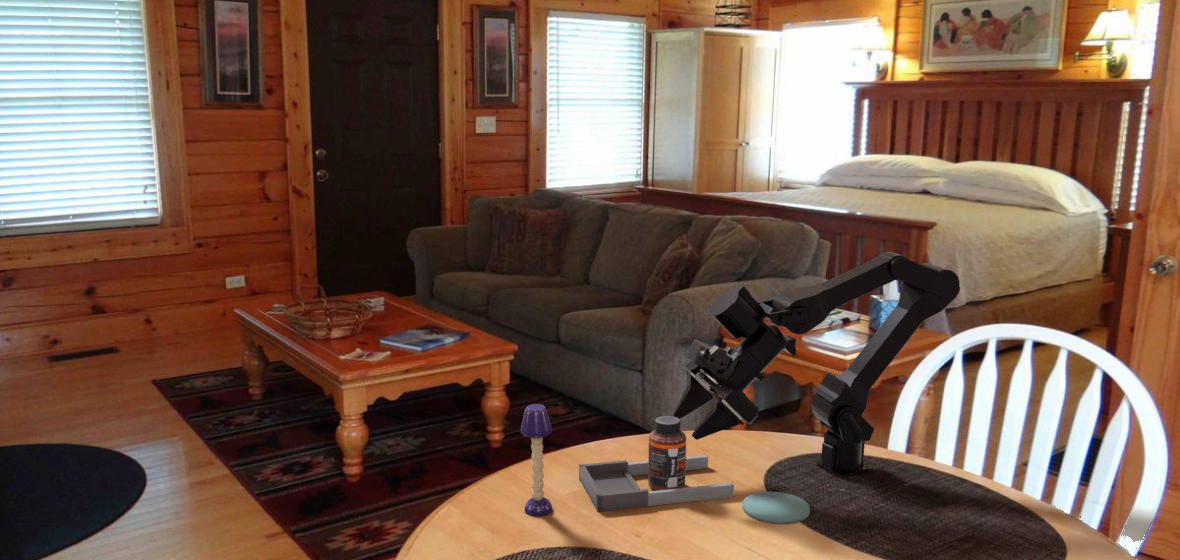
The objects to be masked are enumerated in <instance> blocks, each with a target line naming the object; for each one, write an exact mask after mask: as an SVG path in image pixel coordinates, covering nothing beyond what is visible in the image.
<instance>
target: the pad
mask: <svg viewBox="0 0 1180 560" xmlns="http://www.w3.org/2000/svg"><path fill="white" fill-rule="evenodd" d="M742 509H743V511H744V513H745V514H746V515H747V516H748V517H750V518H752V519H753V520H756V521H759V522H763V523H768V524H773V525H790V524H796V523H800V522H802V521H804V520H806V519H807V518H808V517H809V516H810V512H811V508H810V505H809V503H808V502H807V501H806V500H805V499H803V498H802V497H799V496H797V495H794V494H790V493H786V492H782V491H781V492H780V491H761V492H755V493H752V494H749V495H747V496H746V497H744V499H743V501H742Z"/></svg>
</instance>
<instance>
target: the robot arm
mask: <svg viewBox="0 0 1180 560" xmlns="http://www.w3.org/2000/svg"><path fill="white" fill-rule="evenodd" d="M895 281H899V282H901V283H902V285H901V287H900V291H899V298H898V303H897V305H896V306H895V308H894V309H893V310H892V311H891V312H890V314H889V315H888V316H887V317H886V319H885V320H884V321H883V323H882V324H881V325H880V326H879V328H878V329H877V331H875V333H874V334H873V336H871V338H870V339H869V340H868V341H867V343H866V344H865V345H864V347H863V348H862V350H861V351H860V352H859V353H858V354H857V356H856V357H855V358H854V360H852V362H851V364H850V365H849V366H848V368H847V369H846V370H845V371H843V372H842V373H839V374H838V375H837V374H836V375H834V373H831V372H827V373H826V374H825V375H824V377H823V379H822V381H820V383H819V385H817V386H816V387H815V388H813V390H812V391H813V392H814V394H813V395H812V397H811V399H810V403H811V404H810V406H811V407H810V408H811V412H812V414H813V415H814V416H815V417H816V418H818V421H819V424H820V426H821V427H824V428H825V429H827V431H826V432H824V433H823V441H822V444H821V459H820V460H816V461H815V465H816V466H819V467H820V468H823V469H825V470H827V471H829V472H830V473H832V474H835V475H836V476H838V477H840V478H844V477H849V476H853V475H857V474H860V473H864V472H868V471H870V470H871V466H869V465H867V464H865V463H864V460H865V442H866V441H867V442H868V441H871V438H872V436H873V433H874V432H875V431H874V430H875V429H874V427H873V426H872V425H871V424H870V423H869V422H868V421H867V420H866V419H865V418H864V417H863V414H864V413H865V411H866V410H867V407H868V403H869V402H868V401H869V397H870V391H871V389H872V388H873V386H874V385H875V384H876V383H877V382H878V380H879V379H880V377H881V376H882V375H883V373H884V372H885V371H886V370H887V369H888V367H889V366H890V365H891V364H892V362H893V361H894V359H895V358H896V357H897V356H898V355H899V353H900V352H901V350H902V349H903V348H904V347H905V345H906V344H907V343H908V342H909V340H910V339H911V338H912V336H913V335H914V334H915V332H916V331H917V330H918V329H919V327H920V326H921V324H923V323H924V322H925V321H926V320H928V319H930V318H932V317H934V316H936V315H938V314H940V313H941V312H943V311H944V310H945V309H946V308H947V307H948V306H949V305H951V304H952V302H954V301H955V299H956V298H957V297H958V295H959V294H960V291H961V286H960V279H959V276H958V275H957V273H956V272H954V271H953V270H951V269H948V268H945V267H942V266H938V265H936V264H933V263H928V262H923V263H918V262H915V261H912V260H910V259H908V258H907V257H906V256H904V255H902V254H899V253H895V252H893V251H885V252H881V253H880V254H878V255H877V257H875V258H872V259H870V260H868V261H866V262H863V263H862V264H860V265H858V266H855V267H853V268H851V269H849V270H847V271H845V272H843V273H840V274H838V275H837V276H834V277H832V278H830V279H828V280H826V281H824V282H821V283H819V284H816V285H811V286H810V285H809V286H803V287H802V286H801V287H797V288H793V289H790V290H786V291H782V292H780V293H778V294H777V295H775V296H774V297H773V298H770V299H766V300H762V301H757V300H756V299H755V298H754V297H753V296H752V295H751V293H750V291H749V290H748V289H747V288H746V287H745V286H743V285H741V284H740V283H738V284H737V285H736V286H735V287H734V288H732V289H728V290H727V291H725V292H724V293H722V294H720V295H717V297H716V298H715V299H714V300H713V302H712V303H711V305H710V307H709V311H708V312H709V315H710V316H711V317H712V318H713V319H714V320H715V321H716V323H718V324H719V325H720V326H721V327H722V329H724V330H725V332H727V333H728V334H729V335H730V336H731V337H732V338H733V339H740V338H742V340H741V341H739V343H738V344H737V345H736V346H735V347H733V346H731V345H730V346H727V347H725V348H723V347H719V346H717V345H716V344H715V345H713V346H712V345H709V344H706V343H705V342H702V341H700V340H697V339H693V342H692V344H691V346H690V347H689V350H688V353H687V355H686V356H685V357H686V359H689V360H690V361H688V362H687V364H686V365H685V367H686V369H688V370H685V375H686V381H687V383H686V387H685V389H684V392H683V394H682V396H681V398H680V400H679V402H678V404H677V407H676V409H675V410H674V412H673V415H672V417H677V418H678V419H680V420H681V419H682V418H684V417H686V416H687V415H689V414H691V413H693V412H694V411H695V410H697V409H699V408H700V407H701V406H703V405H705V404H707V403H709V402H710V401H712V403H711V405H712V406H711V408H710V410H709V411H708V412H707V414H705V416H704V417H703V419H701V421H700V422H699V424H698V425H697V427H696V428H695V430H694V431H693V432H692V434H691V437H692V438H693V439H694V440H697V441H698V440H702V439H704V438H705V437H708V436H710V435H713V434H716V433H719V432H721V431H724V430H727V429H730V428H734V427H736V426H739V425H740V426H744V425H745V423H747V424H748V425H752V423H753V422H754V421H755V420H757V418H758V417H759V407H758V406H757V405H756V404H755V403H754V402H753V401H752V400H751V399H750V398H749V397H748V396H747V394H746V393H745V391H746V390H747V389H748V387H749V386H751V384H752V383H753V382H755V380H756V379H757V381H759V382H761V381H762V380H763V379H764V378H765V375H764V374H763V372H764V371H765V369H766V368H767V367H768V366H769V365H770V364H771V363H772V362H773V361H774V360H775V359H776V358H777V357H778V355H779V354H781V353H782V352H783V351H784V352H786V353H788V354H789V355H791V356H793V357H795V356H797V348H796V342H797V339H796V338H795V337H794V336H792V335H786V334H785V333H783V331H782V330H781V329H779V327H781V328H783V329H785V330H786V331H788V332H790V333H792V334H795V335H804V334H807V333H810V331H812V330H813V329H815V328H816V327H818V326H819V325H820V324H821V323H824V321H825V320H826V319H827V318H828V316H829V315H830V314H831V313H833V311H835V310H836V309H838V308H840V307H842V306H844V305H846V304H848V303H850V302H852V301H855V300H856V299H859V298H861V297H863V296H865V295H867V294H869V293H871V292H873V291H875V290H877V289H880V288H881V287H883V286H887V285H888V284H890V283H892V282H895ZM764 319H765V320H767V321H768V322H770V323H772V324H774V325H768V324H767V323H766V322H765V321H764ZM778 326H779V327H778ZM689 371H690V372H689ZM711 392H712V393H713V394H712V393H711ZM715 394H717V395H718V396H719V397H720V398H721V399H722V400H721V399H720V398H719V397H718V396H716V395H715ZM742 420H744V421H745V422H743V421H742Z"/></svg>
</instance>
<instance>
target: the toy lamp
mask: <svg viewBox="0 0 1180 560" xmlns="http://www.w3.org/2000/svg"><path fill="white" fill-rule="evenodd" d="M552 430H553V428H552V424H551V421H550V417H549V414H548V411H547V408H546V406H545V405H544V404H540V403H532V404H529V405H527V406H526V407H525V409H524V413H523V417H522V422H521V426H520V434H521V435H522V436H523V437H527V438H528V439H529V438H530V440H531V445H530V447H531V448H530V449H531V451H532V453H531V461H532V463H531V470H532V472H531V479H532V482H531V488H532V492H531V496H532V497H531V498H529V499H528V500H527V501H526V503H525V505H524V512H525V513H526V514H527V515H531V516H534V517H541V516H547V515H549V514H551V513H552V512H553V505H552V502H551V501H550V499H548V498H547V497H544V495H545V494H544V490H543V489H544V487H545V486H544V477H545V476H544V471H543V470H544V465H545V464H544V462H543V460H544V453H543V450H544V445H543V444H544V443H543V440H544V437H545V438H546V437H549V435H551V433H552Z"/></svg>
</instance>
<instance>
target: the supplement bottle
mask: <svg viewBox="0 0 1180 560" xmlns="http://www.w3.org/2000/svg"><path fill="white" fill-rule="evenodd" d="M681 427H682V426H681V418H680V419H678V418H677V417H674V416H673V415H671V416H670V415H663V416H662V415H661V416H659V417H656V418H655V420H654V430H652V431H651V432H650V433H649V435H648V460H647V461H648V462H649V463H648V474H647V476H648V479H647V482H648V486H649V488H651V489H652V491H659V490H668V489H678V488H685V485H686V471H687V470H685V469H686V467H685V466H686V456H687V435H686V434H685V432H684V431H682V430H681Z"/></svg>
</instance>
